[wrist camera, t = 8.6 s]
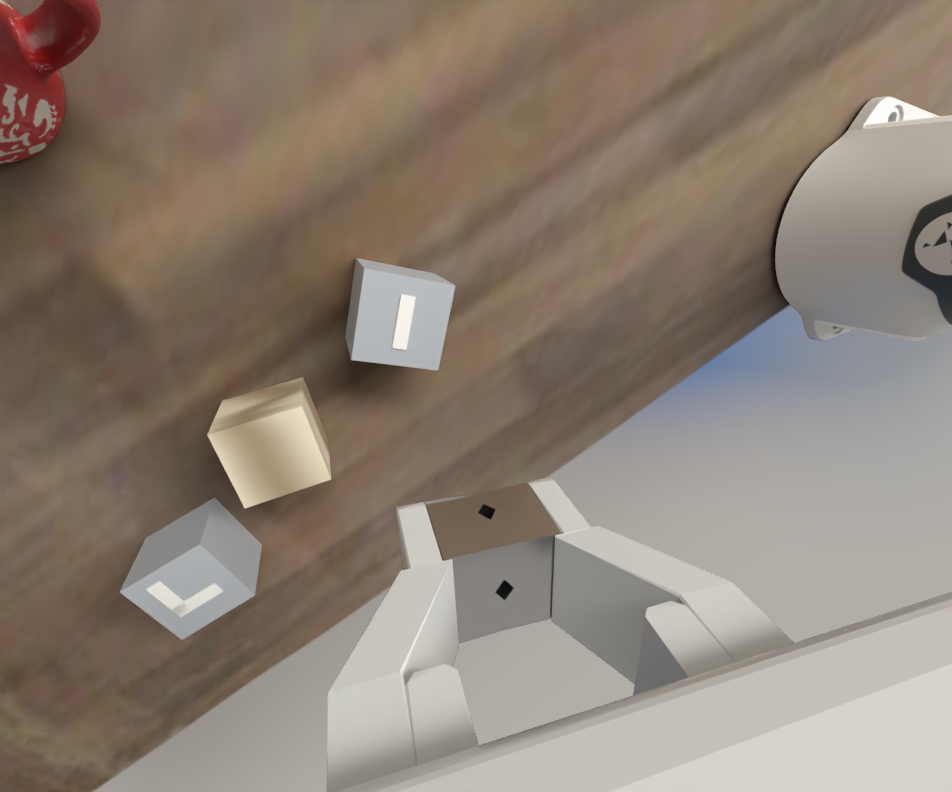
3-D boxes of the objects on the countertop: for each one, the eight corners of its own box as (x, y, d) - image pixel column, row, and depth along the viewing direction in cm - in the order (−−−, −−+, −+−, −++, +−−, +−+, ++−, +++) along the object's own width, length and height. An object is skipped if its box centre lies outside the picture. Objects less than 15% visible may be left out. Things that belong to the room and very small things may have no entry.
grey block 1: (214, 496, 32) (199, 545, 27) (262, 544, 34) (254, 596, 30) (146, 537, 31) (118, 593, 27) (198, 582, 34) (181, 641, 29)
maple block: (303, 376, 31) (301, 405, 26) (328, 442, 33) (331, 479, 28) (222, 400, 30) (207, 435, 25) (253, 466, 32) (244, 508, 27)
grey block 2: (434, 273, 31) (455, 285, 26) (420, 347, 32) (438, 371, 28) (356, 257, 29) (364, 268, 25) (345, 337, 31) (351, 360, 26)
